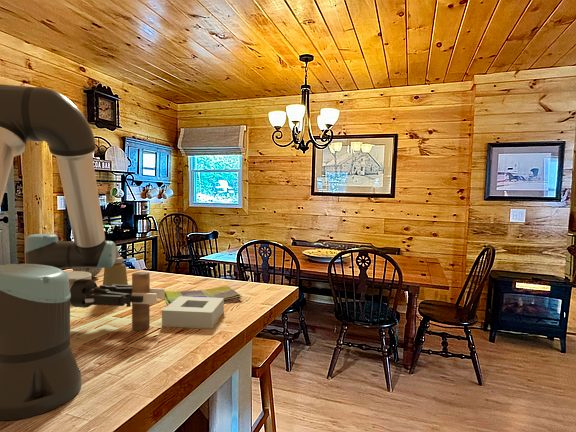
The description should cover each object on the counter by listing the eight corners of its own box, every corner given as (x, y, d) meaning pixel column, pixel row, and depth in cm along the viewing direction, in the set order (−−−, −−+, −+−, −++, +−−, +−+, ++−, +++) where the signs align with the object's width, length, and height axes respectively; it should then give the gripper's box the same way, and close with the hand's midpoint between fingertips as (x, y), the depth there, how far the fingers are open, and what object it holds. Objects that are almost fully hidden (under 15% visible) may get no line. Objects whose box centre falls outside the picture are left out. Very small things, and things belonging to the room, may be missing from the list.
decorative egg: (71, 282, 147) (70, 245, 146) (71, 276, 157) (71, 241, 156) (103, 279, 152) (103, 243, 151) (102, 274, 163) (102, 240, 162)
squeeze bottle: (118, 304, 120) (118, 249, 119) (96, 302, 122) (96, 248, 121) (133, 297, 128) (133, 246, 127) (112, 295, 130) (112, 245, 129)
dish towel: (162, 296, 132) (162, 288, 132) (229, 290, 143) (229, 283, 142) (169, 311, 117) (169, 302, 116) (243, 303, 127) (243, 295, 127)
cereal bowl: (101, 290, 137) (101, 271, 136) (70, 303, 120) (70, 282, 120) (58, 288, 138) (58, 269, 138) (22, 300, 122) (22, 279, 121)
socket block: (211, 328, 101) (212, 312, 101) (161, 326, 102) (161, 310, 102) (223, 312, 115) (223, 298, 115) (179, 310, 116) (179, 296, 116)
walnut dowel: (145, 331, 98) (145, 275, 97) (129, 330, 98) (128, 275, 97) (152, 325, 102) (152, 272, 101) (136, 324, 103) (136, 271, 102)
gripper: (95, 297, 110) (172, 300, 108) (54, 316, 92) (146, 321, 91) (94, 272, 109) (172, 275, 108) (54, 287, 92) (146, 291, 90)
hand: (160, 296), depth 99 cm, fingers closed on walnut dowel, 4 cm apart
